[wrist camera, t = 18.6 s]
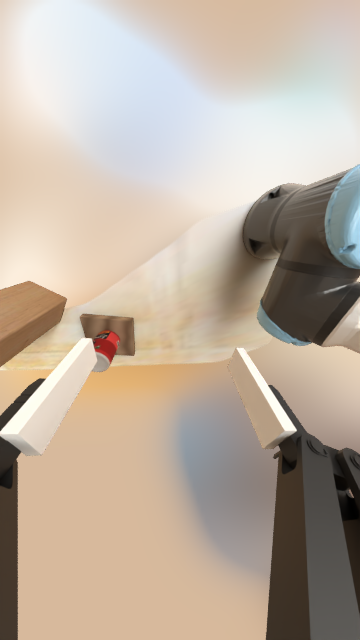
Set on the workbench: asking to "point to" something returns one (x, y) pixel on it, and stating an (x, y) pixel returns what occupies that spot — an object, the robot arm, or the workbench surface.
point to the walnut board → (114, 324)
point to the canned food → (105, 349)
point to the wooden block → (26, 316)
